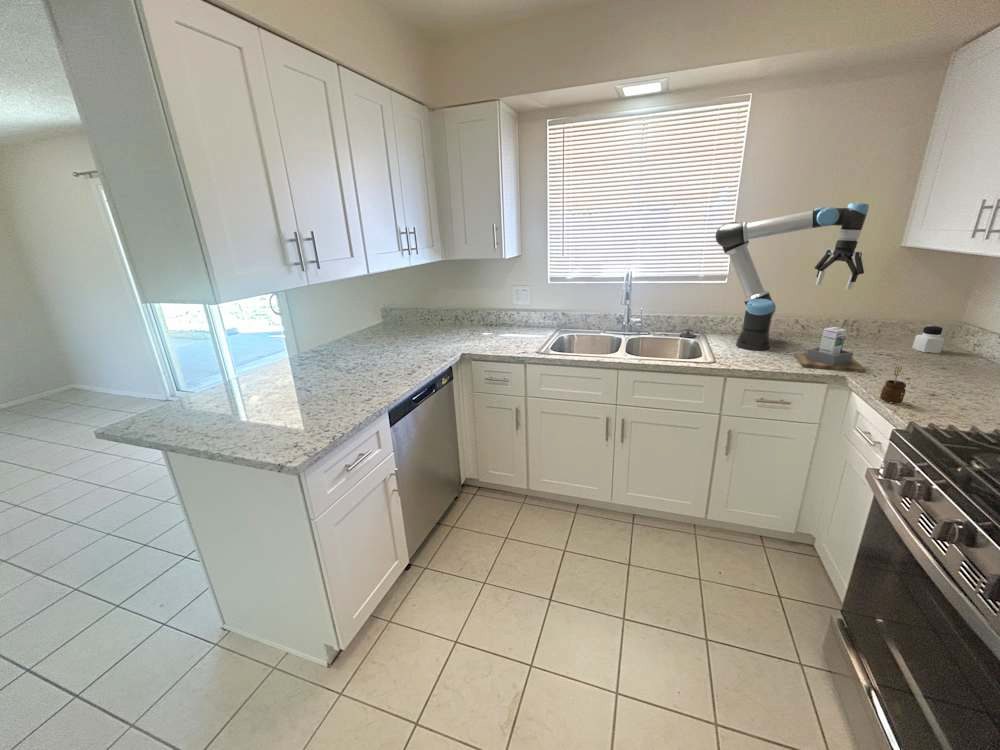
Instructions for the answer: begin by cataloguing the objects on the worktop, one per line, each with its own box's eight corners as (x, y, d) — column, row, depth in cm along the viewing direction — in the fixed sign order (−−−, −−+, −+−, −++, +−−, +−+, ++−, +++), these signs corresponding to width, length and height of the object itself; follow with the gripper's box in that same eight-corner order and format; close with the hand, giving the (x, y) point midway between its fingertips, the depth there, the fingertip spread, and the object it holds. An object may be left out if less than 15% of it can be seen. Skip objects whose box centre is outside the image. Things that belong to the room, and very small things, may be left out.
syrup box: (829, 363, 181) (838, 330, 176) (816, 359, 187) (824, 327, 182) (839, 361, 183) (847, 329, 178) (825, 357, 188) (833, 326, 183)
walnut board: (801, 366, 182) (802, 363, 182) (793, 355, 197) (794, 352, 196) (864, 372, 174) (865, 369, 173) (851, 360, 188) (852, 357, 188)
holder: (805, 358, 188) (807, 349, 186) (823, 355, 192) (825, 345, 190) (832, 366, 178) (835, 356, 176) (850, 362, 181) (853, 352, 180)
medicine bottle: (940, 353, 194) (949, 328, 190) (923, 353, 195) (931, 328, 191) (928, 349, 200) (936, 324, 196) (911, 348, 201) (919, 324, 197)
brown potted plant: (880, 402, 146) (890, 370, 142) (878, 396, 151) (887, 365, 147) (903, 405, 143) (914, 373, 139) (899, 399, 148) (910, 367, 144)
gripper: (884, 241, 180) (867, 291, 187) (825, 238, 202) (811, 283, 209) (873, 241, 177) (856, 291, 185) (814, 238, 199) (801, 283, 206)
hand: (832, 287), depth 197 cm, fingers open, 13 cm apart
